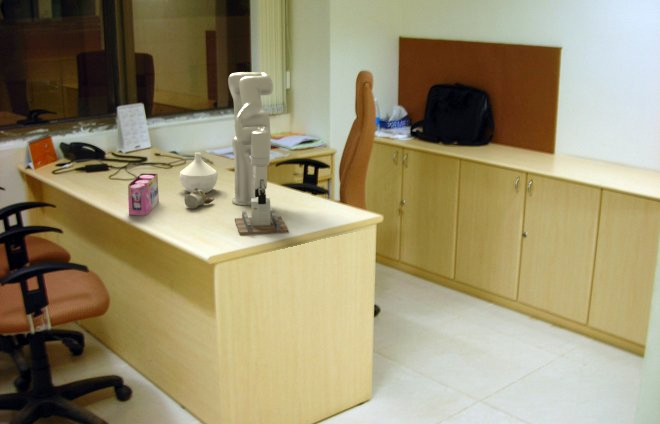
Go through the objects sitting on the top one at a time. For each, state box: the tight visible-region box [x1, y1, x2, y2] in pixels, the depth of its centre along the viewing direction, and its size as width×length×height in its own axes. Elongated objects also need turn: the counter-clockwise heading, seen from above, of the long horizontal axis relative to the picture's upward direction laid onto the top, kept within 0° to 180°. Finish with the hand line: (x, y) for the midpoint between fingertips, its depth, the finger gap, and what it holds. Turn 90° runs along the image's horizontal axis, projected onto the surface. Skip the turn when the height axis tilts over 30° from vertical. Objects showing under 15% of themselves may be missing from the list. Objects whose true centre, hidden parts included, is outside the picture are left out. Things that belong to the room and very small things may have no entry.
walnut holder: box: [234, 209, 289, 236], centre depth 325 cm, size 20×20×4 cm
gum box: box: [127, 172, 160, 216], centre depth 347 cm, size 24×8×14 cm, turn 178°
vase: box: [179, 151, 219, 194], centre depth 376 cm, size 18×18×19 cm
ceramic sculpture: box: [183, 188, 215, 210], centre depth 354 cm, size 11×9×15 cm
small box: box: [250, 197, 271, 226], centre depth 324 cm, size 8×6×10 cm
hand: (260, 200), depth 323 cm, fingers open, 9 cm apart
